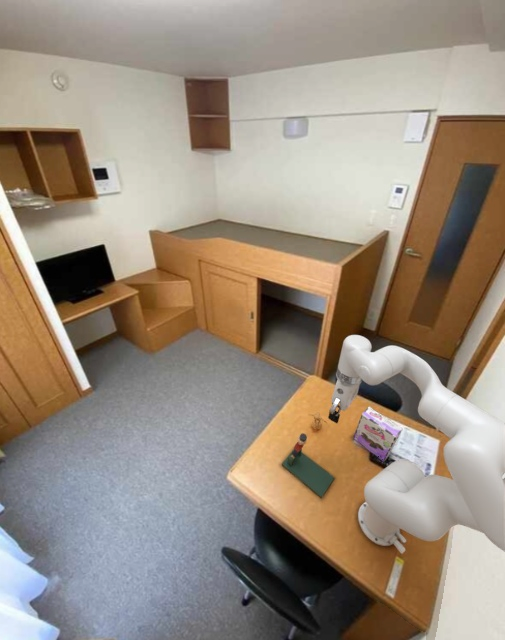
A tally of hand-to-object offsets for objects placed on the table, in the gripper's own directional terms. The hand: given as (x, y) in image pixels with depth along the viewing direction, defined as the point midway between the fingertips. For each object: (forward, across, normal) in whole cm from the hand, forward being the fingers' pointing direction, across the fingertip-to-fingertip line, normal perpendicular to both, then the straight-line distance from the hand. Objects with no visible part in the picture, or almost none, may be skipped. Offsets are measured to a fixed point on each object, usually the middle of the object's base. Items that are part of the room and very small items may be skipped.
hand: (339, 411), depth 93 cm
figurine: (+30, +10, +11) cm, 33 cm away
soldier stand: (+30, -9, +3) cm, 31 cm away
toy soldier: (+19, -8, +7) cm, 22 cm away
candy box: (+30, +18, -11) cm, 37 cm away
